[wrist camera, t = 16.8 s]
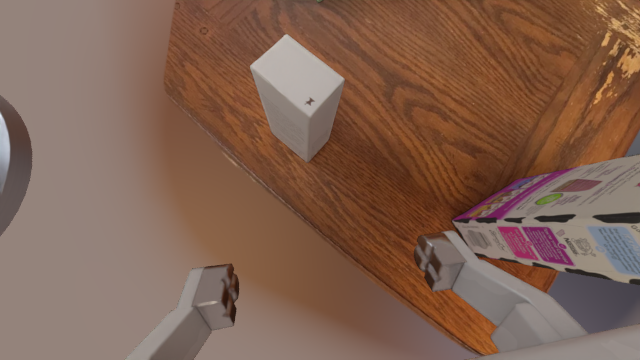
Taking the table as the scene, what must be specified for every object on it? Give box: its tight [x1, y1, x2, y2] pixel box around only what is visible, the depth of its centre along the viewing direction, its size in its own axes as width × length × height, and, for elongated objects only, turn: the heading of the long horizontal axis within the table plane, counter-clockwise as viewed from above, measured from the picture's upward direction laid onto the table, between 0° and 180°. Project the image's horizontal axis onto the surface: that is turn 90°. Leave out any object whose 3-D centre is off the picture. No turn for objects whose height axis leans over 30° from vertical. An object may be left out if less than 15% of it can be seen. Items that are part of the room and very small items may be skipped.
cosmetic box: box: [250, 34, 345, 163], centre depth 23 cm, size 6×4×12 cm
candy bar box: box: [452, 154, 640, 285], centre depth 20 cm, size 11×5×16 cm, turn 119°
